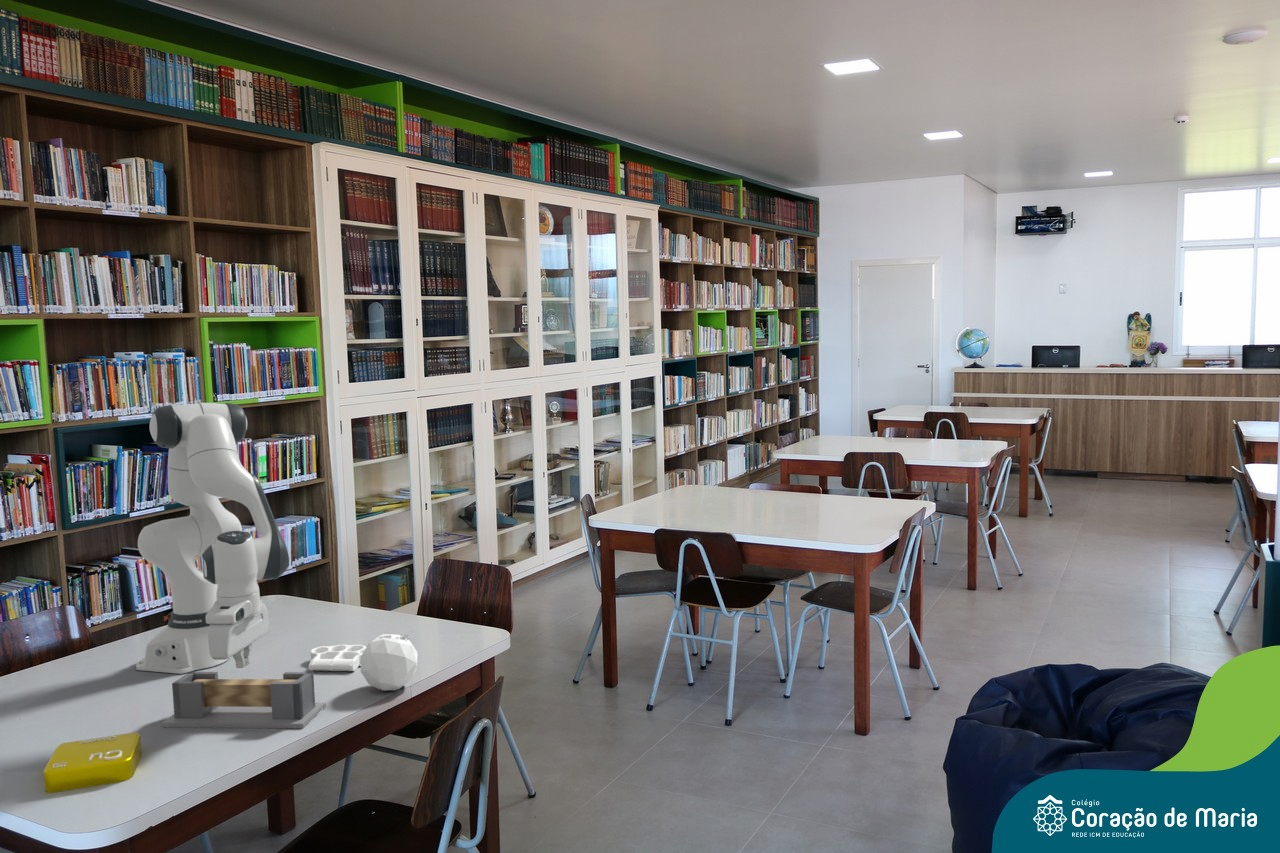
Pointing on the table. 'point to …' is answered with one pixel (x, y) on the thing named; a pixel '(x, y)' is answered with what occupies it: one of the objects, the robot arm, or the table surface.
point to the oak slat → (238, 692)
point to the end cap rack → (287, 711)
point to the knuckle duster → (336, 658)
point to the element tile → (92, 762)
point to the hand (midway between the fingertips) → (243, 666)
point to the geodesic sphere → (389, 662)
